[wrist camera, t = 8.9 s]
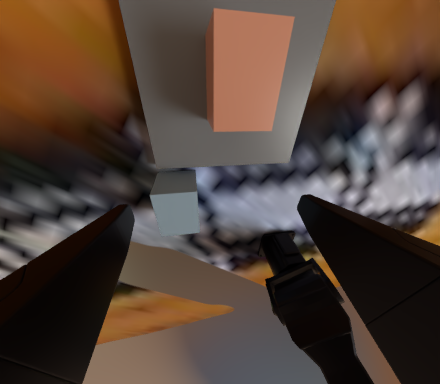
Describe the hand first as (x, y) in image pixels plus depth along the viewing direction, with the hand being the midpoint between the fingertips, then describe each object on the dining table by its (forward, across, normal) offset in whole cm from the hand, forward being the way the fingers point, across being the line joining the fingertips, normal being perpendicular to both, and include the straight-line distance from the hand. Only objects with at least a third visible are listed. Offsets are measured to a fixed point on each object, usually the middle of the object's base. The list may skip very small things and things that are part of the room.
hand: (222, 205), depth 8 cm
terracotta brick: (+10, -2, -6) cm, 12 cm away
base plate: (+12, -2, -6) cm, 13 cm away
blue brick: (+12, +4, +6) cm, 14 cm away
